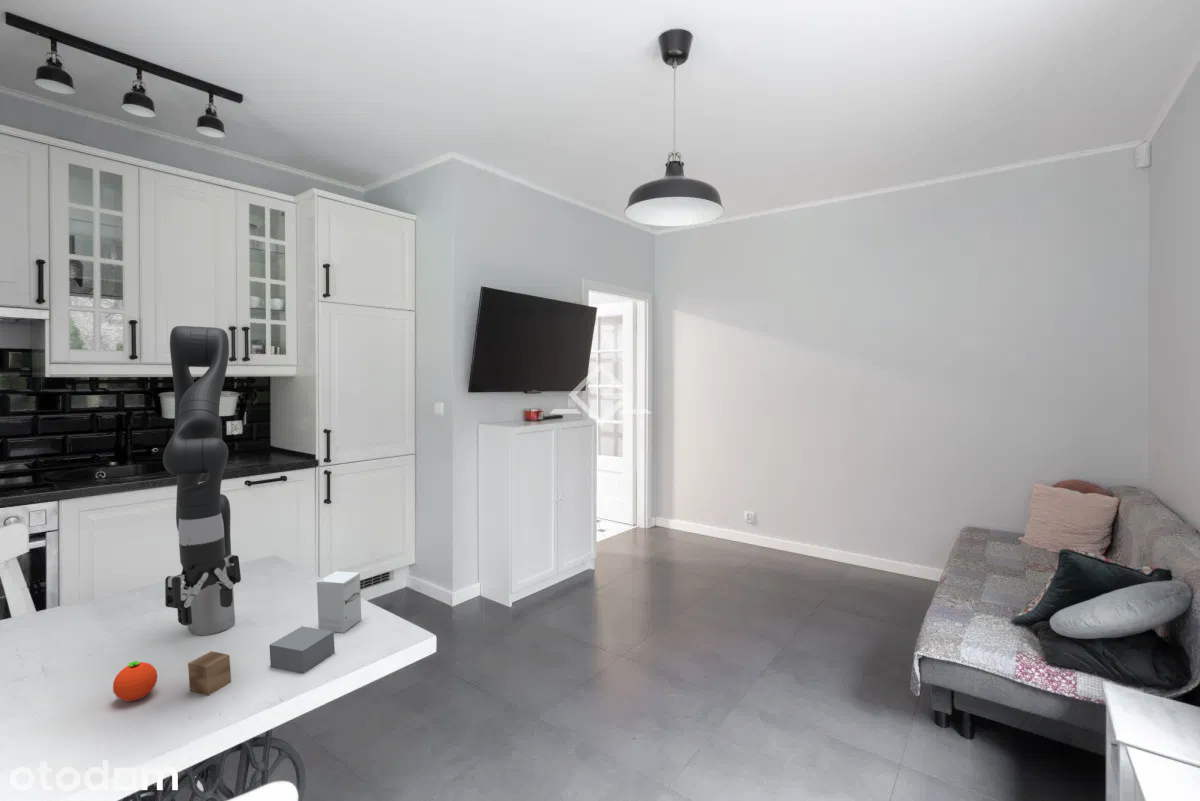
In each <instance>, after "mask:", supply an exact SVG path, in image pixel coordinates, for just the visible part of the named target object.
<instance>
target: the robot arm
mask: <svg viewBox="0 0 1200 801" xmlns="http://www.w3.org/2000/svg"><path fill="white" fill-rule="evenodd" d="M169 350H170V351H169V352H170V361H171V369H172V370H171V372H172V380H173V392H174V432H173V434H172V435H171V437H170V439H169V441H168V443H167V445H166V447H165V448H164V451H163V455H162V463H163V467H164V469H165V470H166V471H167V472H168V473H169V474H171V475H173V476H176V478H177V480H176V485H177V486H176V501H175V502H176V506H175V520H176V521H175V522H176V528H177V532H178V548H179V561H180V562H179V563H180V564H181V566H182V571H181V573H180V574H177V575H174V576H173V575H168V576H166V577H165V579H164V581H165V583H164V586H165V587H164V588H165V589H164V590H165V591H164V592H165V596H164V597H165V598H164V599H165V602H164V604H165V608H166V607H167V608H171V609H172V608H173V609H177V610H176V611H177V621H178V624H180V625H181V626H187V627H188V629H187V630H189V631H190V632H191V634H192V635H195V636H209V635H213V634H218V633H220V632H223V631H225V630H228V629H230V628H231V627H233V626H234V625H235V624H236V615H235V611H236V610H235V598H234V597H235V596H234V595H235V592H234V586H235V585H236V584H238V583H240V582H241V581H242V576H241V567H240V559H239V558H240V557H239V555H235V554H232V541H231V540H232V539H231V518H232V517H231V505H230V501H229V498H228V497H227V496H226V495H225V494H221V486H222V482H223V481H222V480H223V476H224V473H225V469H226V466H227V462H228V458H229V449H228V445H227V444H226V442H225V441H224V440H223V422H222V418H221V416H220V405H221V404H220V403H221V396H222V391H223V386H224V384H225V378H226V374H227V369H228V362H229V358H230V356H229V355H230V343H229V337H228V333H227V332H226V331H225V330H224V329H223V328H220V327H209V326H191V325H190V326H189V325H188V326H187V325H176V326H174V327H173V328H172V329H171V331H170V335H169ZM192 367H193V368H208V369H207V370H206V372H205V373H204V374H203V375H202V376H201V377H200V378H198V379H197V381H194V379H193V377H192V374H191V371H190V368H192ZM204 474H208V475H207V478H206V479H205V480H204V481H202V482H200V481H201V479H202V478H203V476H204Z"/></svg>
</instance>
